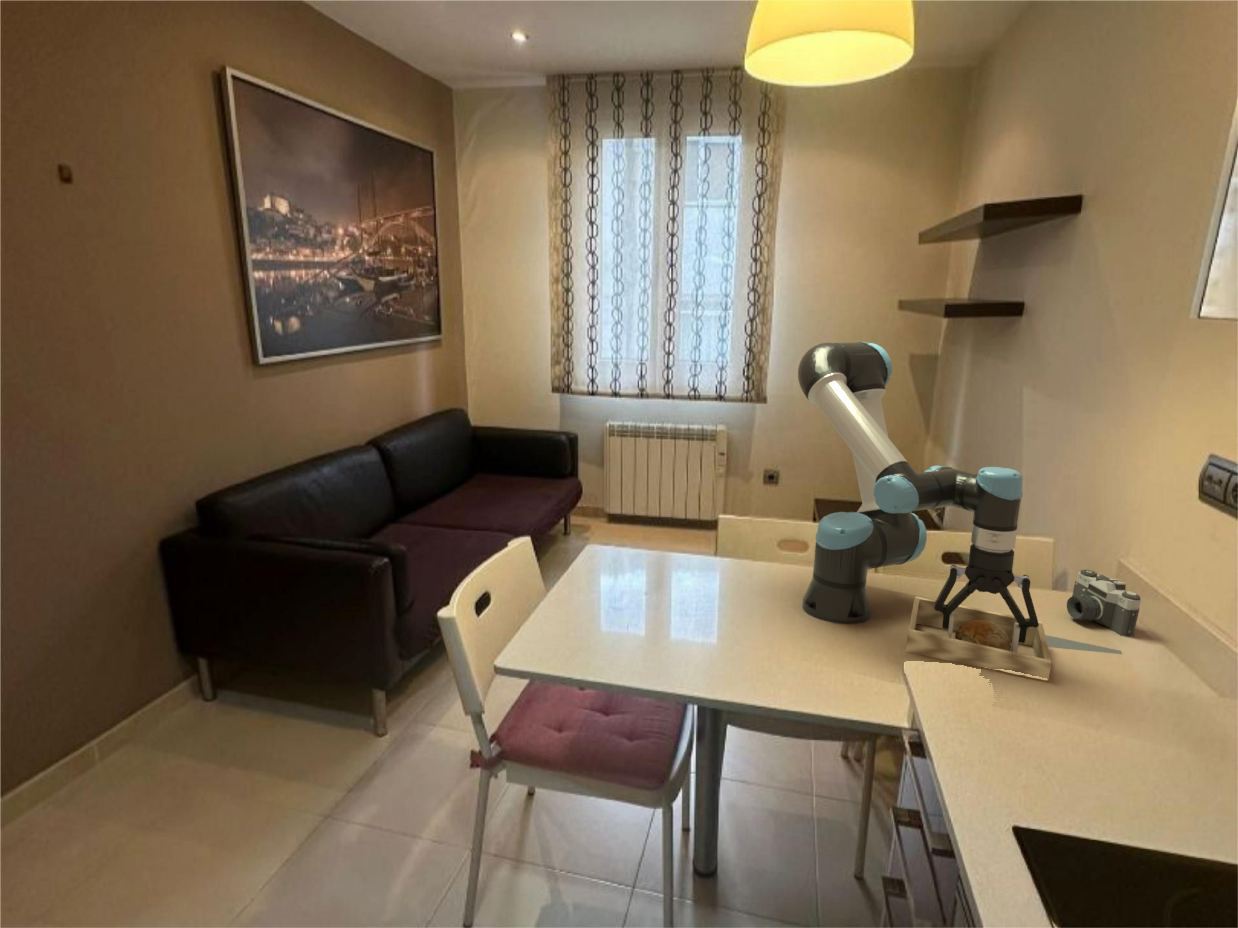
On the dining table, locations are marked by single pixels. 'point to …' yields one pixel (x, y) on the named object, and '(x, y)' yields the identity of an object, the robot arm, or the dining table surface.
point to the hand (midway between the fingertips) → (980, 649)
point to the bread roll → (984, 634)
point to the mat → (1077, 645)
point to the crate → (972, 651)
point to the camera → (1104, 602)
